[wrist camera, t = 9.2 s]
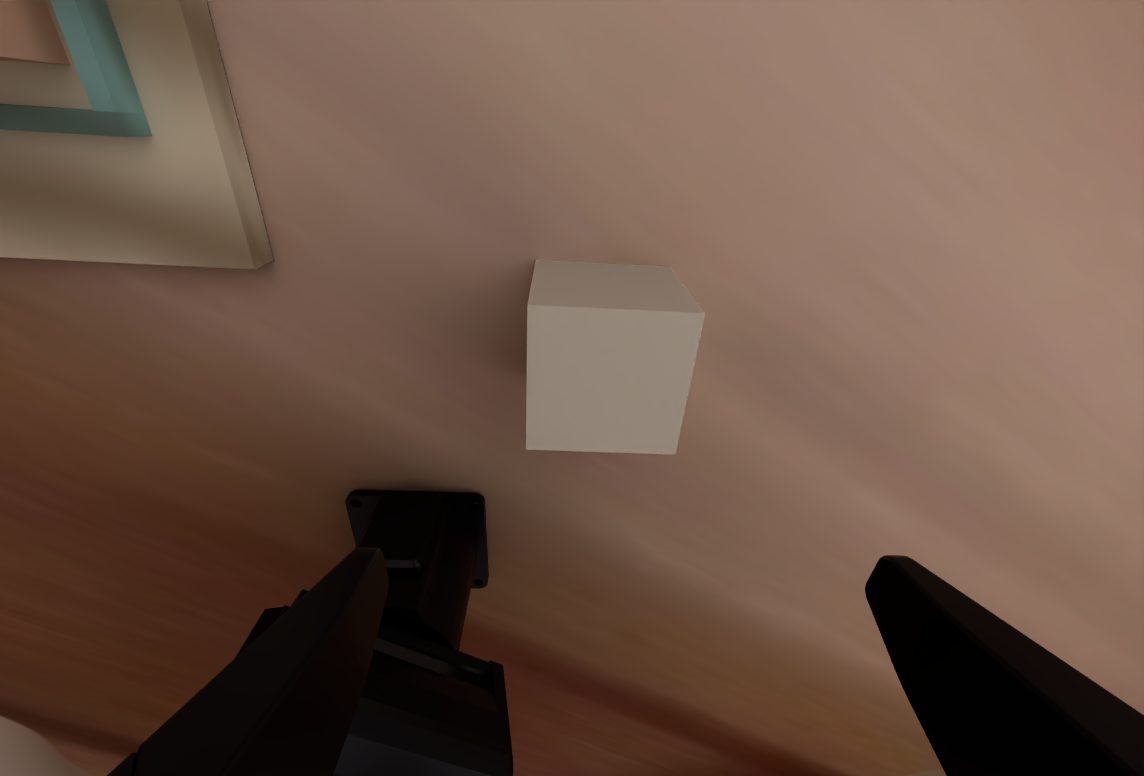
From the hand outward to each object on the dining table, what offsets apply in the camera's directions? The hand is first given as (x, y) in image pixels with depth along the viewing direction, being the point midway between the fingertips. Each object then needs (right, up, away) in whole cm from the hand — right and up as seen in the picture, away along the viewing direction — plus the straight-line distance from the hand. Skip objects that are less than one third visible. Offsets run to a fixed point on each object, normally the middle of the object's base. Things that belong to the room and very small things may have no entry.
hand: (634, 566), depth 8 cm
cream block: (0, +6, +10) cm, 12 cm away
